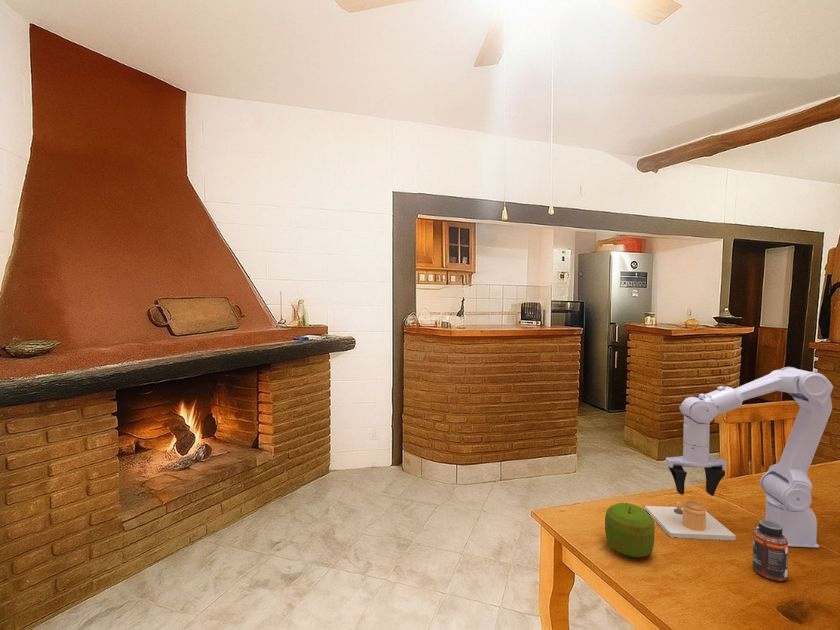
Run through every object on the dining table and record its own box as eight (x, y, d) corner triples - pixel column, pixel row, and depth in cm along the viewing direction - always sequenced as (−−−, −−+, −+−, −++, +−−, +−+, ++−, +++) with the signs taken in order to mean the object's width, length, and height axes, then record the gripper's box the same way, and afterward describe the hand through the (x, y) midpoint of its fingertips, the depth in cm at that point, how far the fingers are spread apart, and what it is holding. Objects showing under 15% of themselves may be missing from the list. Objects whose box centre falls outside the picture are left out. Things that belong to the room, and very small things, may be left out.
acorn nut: (698, 521, 110) (698, 500, 110) (709, 531, 105) (709, 509, 105) (679, 520, 110) (679, 499, 110) (689, 530, 105) (689, 508, 105)
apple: (607, 532, 107) (607, 491, 107) (654, 544, 101) (654, 502, 101) (602, 554, 97) (602, 510, 97) (653, 569, 92) (654, 522, 91)
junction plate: (701, 512, 117) (702, 498, 117) (735, 540, 103) (736, 524, 103) (644, 509, 118) (644, 496, 118) (670, 537, 104) (670, 522, 104)
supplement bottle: (795, 582, 88) (796, 531, 87) (770, 583, 87) (771, 532, 87) (769, 564, 94) (770, 516, 93) (745, 565, 93) (746, 517, 93)
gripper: (714, 438, 111) (713, 487, 111) (660, 437, 112) (659, 485, 112) (732, 448, 104) (731, 500, 104) (674, 446, 105) (673, 498, 105)
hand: (695, 493), depth 108 cm, fingers open, 7 cm apart
